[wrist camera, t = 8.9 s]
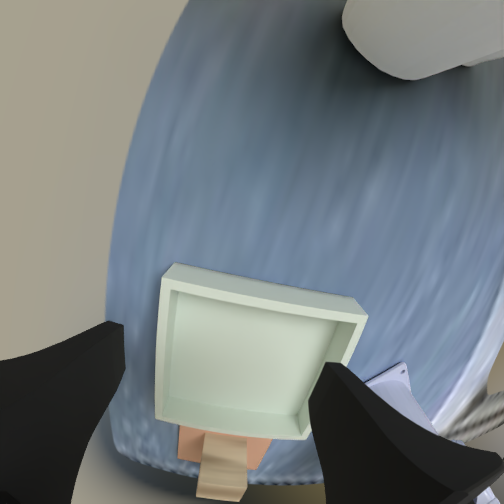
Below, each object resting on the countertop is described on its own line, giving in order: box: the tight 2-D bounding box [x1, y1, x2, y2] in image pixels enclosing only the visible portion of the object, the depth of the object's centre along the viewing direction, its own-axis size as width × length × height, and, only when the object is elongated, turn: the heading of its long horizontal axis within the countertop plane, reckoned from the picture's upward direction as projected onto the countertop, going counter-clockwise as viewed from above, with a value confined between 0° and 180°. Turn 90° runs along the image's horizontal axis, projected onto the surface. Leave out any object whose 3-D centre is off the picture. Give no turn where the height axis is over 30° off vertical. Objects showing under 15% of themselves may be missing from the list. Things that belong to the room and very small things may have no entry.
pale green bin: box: [155, 262, 368, 440], centre depth 18 cm, size 13×13×3 cm
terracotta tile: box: [178, 425, 272, 470], centre depth 22 cm, size 9×9×1 cm
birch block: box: [196, 432, 247, 502], centre depth 19 cm, size 4×4×6 cm
